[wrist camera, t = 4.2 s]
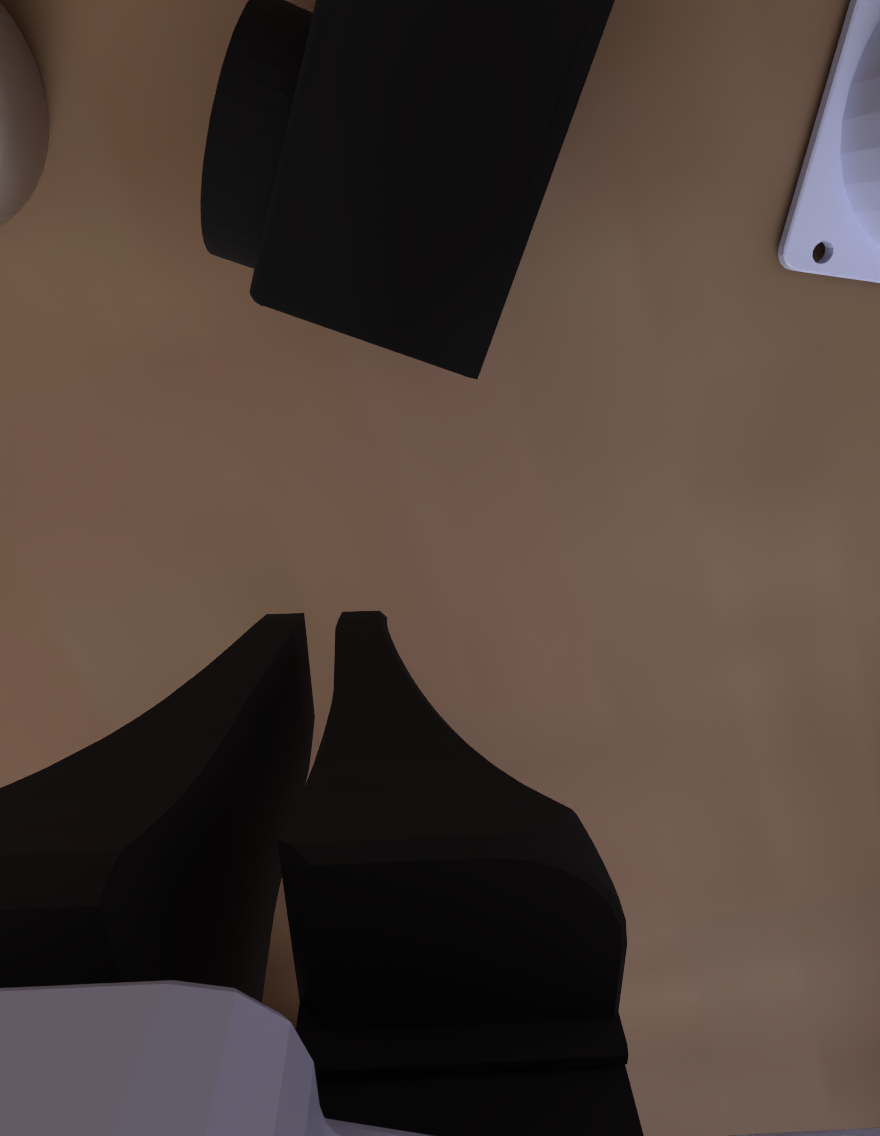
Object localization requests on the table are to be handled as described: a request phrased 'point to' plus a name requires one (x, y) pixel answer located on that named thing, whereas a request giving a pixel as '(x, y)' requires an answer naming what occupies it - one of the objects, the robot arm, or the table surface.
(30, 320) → the table surface
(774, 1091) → the table surface
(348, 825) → the robot arm
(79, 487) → the table surface
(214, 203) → the digital camera
